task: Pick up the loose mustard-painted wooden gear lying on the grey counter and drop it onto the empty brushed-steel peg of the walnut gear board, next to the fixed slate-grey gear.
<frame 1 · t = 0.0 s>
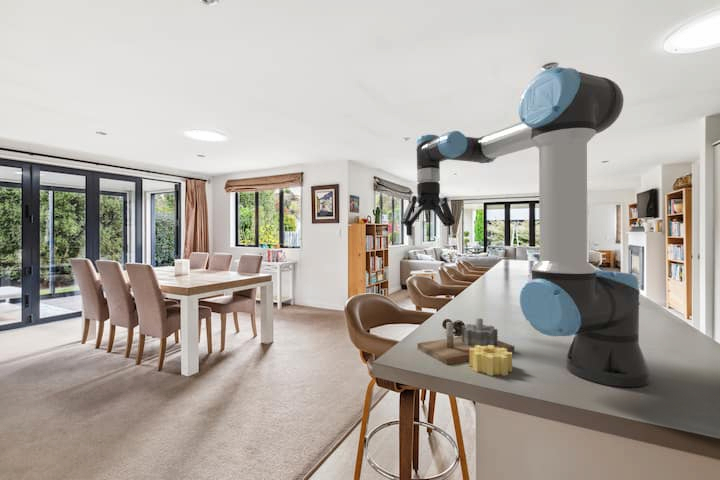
hand: (428, 245, 117), 28 cm above the kitchen island, fingers open, 13 cm apart
regulator: (464, 334, 110), on the kitchen island
mustard gear: (490, 367, 81), on the kitchen island
gear board: (465, 350, 94), on the kitchen island
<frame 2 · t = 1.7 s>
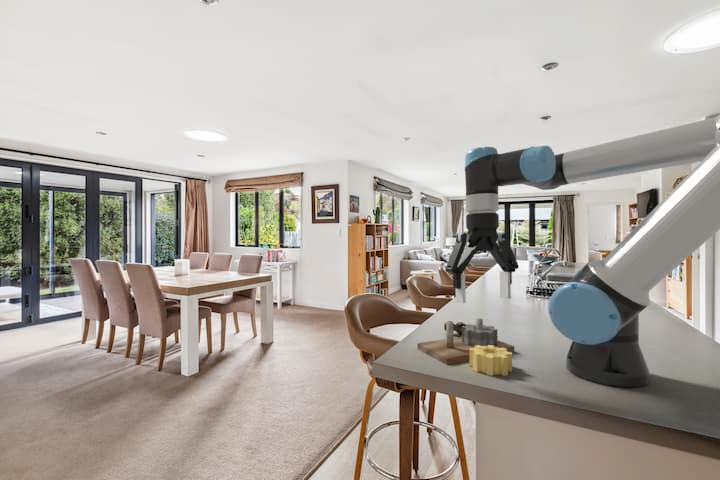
hand: (483, 300, 84), 15 cm above the kitchen island, fingers open, 13 cm apart
regulator: (467, 336, 108), on the kitchen island
everything else where it was.
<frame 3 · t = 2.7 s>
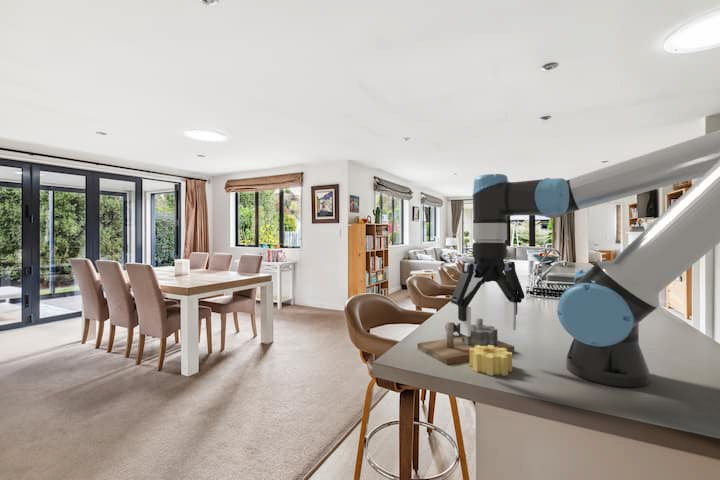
hand: (488, 331, 82), 8 cm above the kitchen island, fingers open, 13 cm apart
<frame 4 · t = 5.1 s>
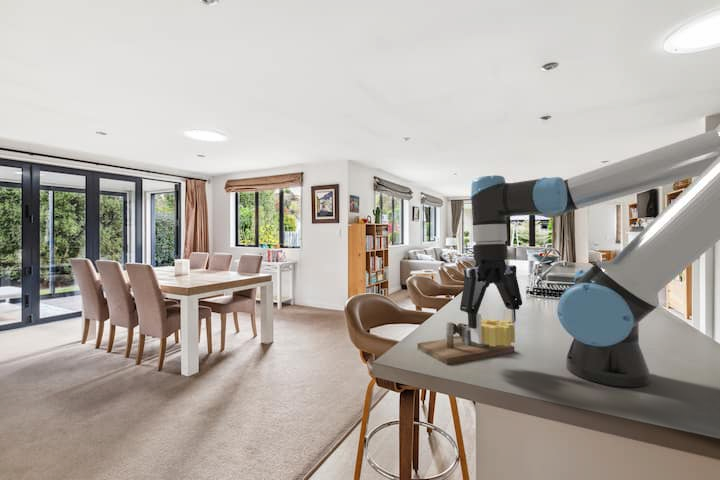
hand: (493, 339, 81), 7 cm above the kitchen island, fingers closed on mustard gear, 9 cm apart
regulator: (469, 337, 107), on the kitchen island, touching gear board
mustard gear: (493, 340, 81), point 7 cm above the kitchen island, touching gripper
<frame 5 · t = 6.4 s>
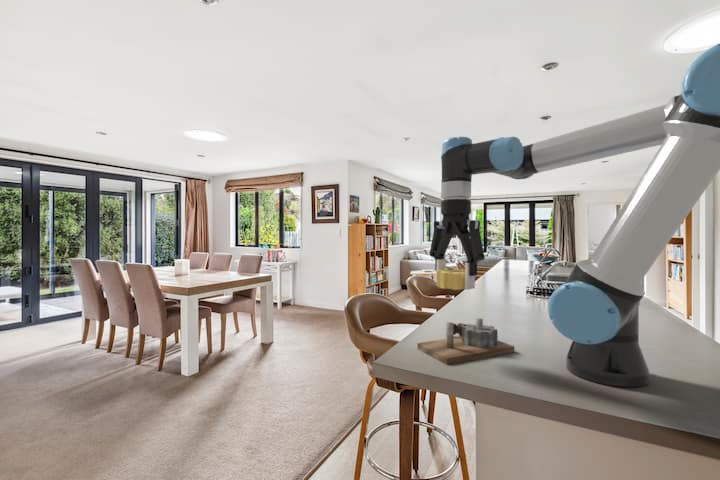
hand: (454, 285, 90), 18 cm above the kitchen island, fingers closed on mustard gear, 9 cm apart
regulator: (469, 337, 107), on the kitchen island
mustard gear: (454, 286, 90), point 18 cm above the kitchen island, touching gripper
when the fingers open (7 cm above the kitchen island, at t = 8.7 s): mustard gear drops 5 cm, resting on gear board.
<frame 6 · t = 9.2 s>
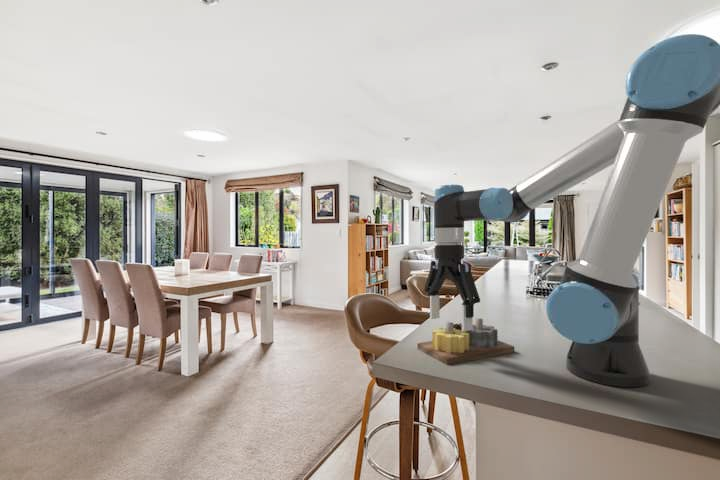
hand: (449, 324, 92), 8 cm above the kitchen island, fingers open, 13 cm apart
mustard gear: (450, 347, 92), point 1 cm above the kitchen island, touching gear board
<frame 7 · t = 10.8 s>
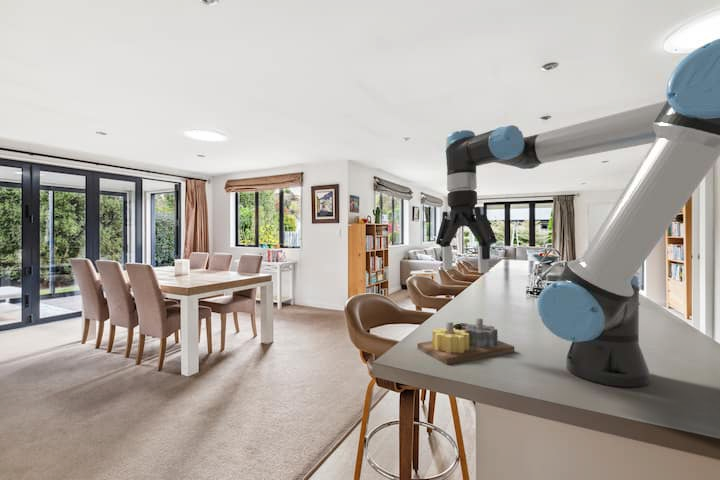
hand: (464, 271, 92), 22 cm above the kitchen island, fingers open, 13 cm apart
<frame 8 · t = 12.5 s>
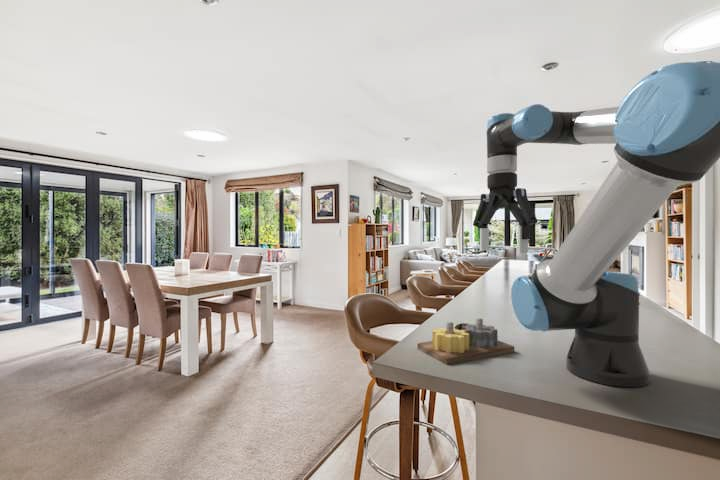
hand: (502, 251, 94), 27 cm above the kitchen island, fingers open, 13 cm apart
at the end: mustard gear 0.2 cm from the target spot on the gear board, point 1.5 cm above the gear board's base; the gripper is holding nothing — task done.
